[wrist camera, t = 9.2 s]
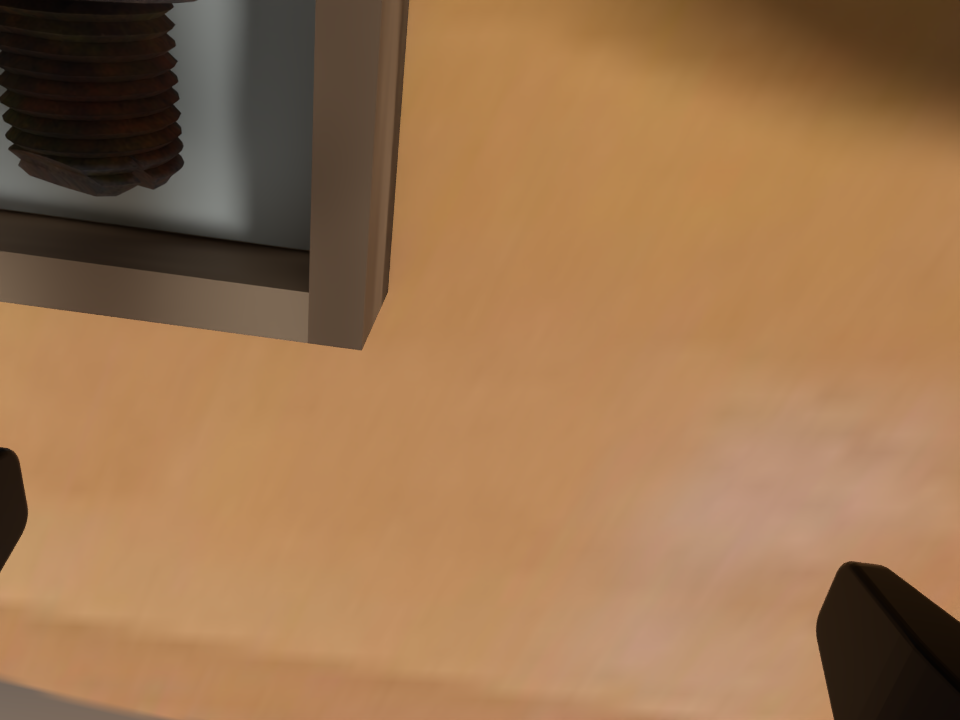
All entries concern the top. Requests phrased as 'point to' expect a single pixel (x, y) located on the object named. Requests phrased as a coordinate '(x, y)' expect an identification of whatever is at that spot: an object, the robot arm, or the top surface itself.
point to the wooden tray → (239, 184)
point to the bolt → (91, 92)
